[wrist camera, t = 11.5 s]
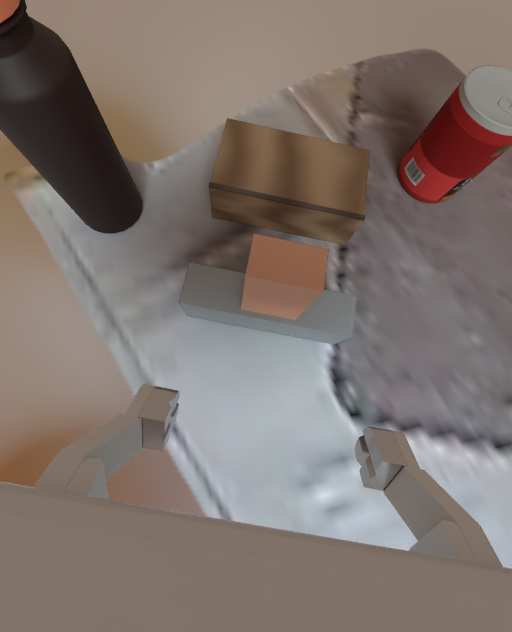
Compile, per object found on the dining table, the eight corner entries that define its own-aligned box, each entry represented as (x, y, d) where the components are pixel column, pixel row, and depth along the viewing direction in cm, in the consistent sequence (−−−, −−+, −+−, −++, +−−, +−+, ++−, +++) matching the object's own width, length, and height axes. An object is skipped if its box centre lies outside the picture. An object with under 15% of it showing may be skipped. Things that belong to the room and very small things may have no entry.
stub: (337, 309, 31) (409, 258, 18) (333, 344, 30) (407, 316, 17) (196, 280, 30) (171, 209, 18) (187, 315, 29) (154, 265, 17)
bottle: (129, 175, 33) (-17, -126, 13) (153, 220, 32) (30, -36, 12) (72, 196, 32) (-181, -103, 12) (95, 244, 30) (-144, 0, 11)
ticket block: (351, 182, 35) (370, 148, 30) (344, 244, 33) (364, 219, 28) (227, 155, 35) (227, 116, 30) (212, 217, 32) (208, 186, 27)
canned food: (444, 215, 35) (535, 142, 25) (387, 187, 36) (454, 104, 25) (459, 171, 37) (551, 87, 27) (406, 146, 38) (475, 52, 27)
